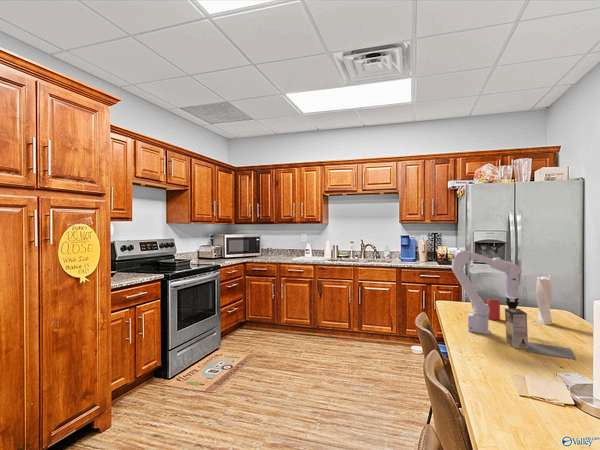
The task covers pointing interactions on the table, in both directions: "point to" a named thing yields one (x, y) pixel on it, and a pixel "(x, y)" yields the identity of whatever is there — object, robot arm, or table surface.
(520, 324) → the coffee box
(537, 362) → the table surface
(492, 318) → the beer can
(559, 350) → the mat
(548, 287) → the skyscraper
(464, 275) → the robot arm
